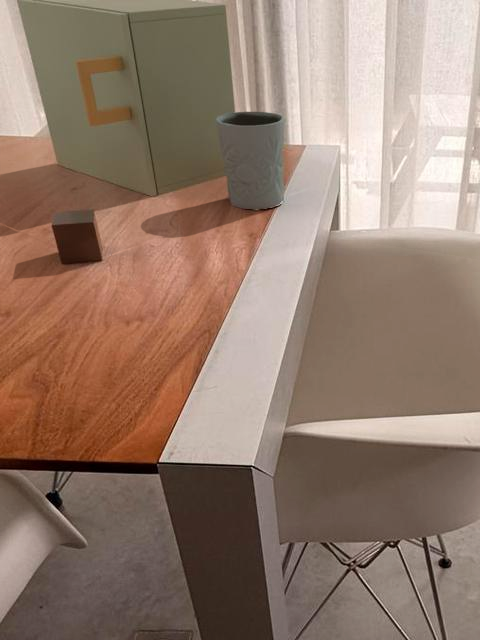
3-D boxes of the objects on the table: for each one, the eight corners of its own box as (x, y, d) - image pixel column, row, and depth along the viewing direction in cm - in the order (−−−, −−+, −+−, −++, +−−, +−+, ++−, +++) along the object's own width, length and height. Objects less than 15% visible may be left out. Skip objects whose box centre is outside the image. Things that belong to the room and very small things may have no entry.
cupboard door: (116, 207, 104) (77, 17, 89) (22, 173, 117) (-27, 1, 101) (157, 195, 109) (127, 13, 94) (62, 164, 122) (22, -2, 106)
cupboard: (158, 196, 109) (128, 12, 94) (64, 164, 122) (23, -3, 106) (240, 172, 120) (225, 4, 105) (146, 145, 133) (120, -9, 117)
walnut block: (61, 264, 88) (51, 225, 84) (63, 250, 91) (53, 212, 88) (102, 260, 89) (93, 222, 85) (102, 246, 92) (93, 209, 89)
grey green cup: (243, 216, 103) (235, 128, 95) (213, 198, 109) (203, 114, 101) (300, 204, 108) (297, 120, 100) (268, 188, 114) (263, 107, 106)
